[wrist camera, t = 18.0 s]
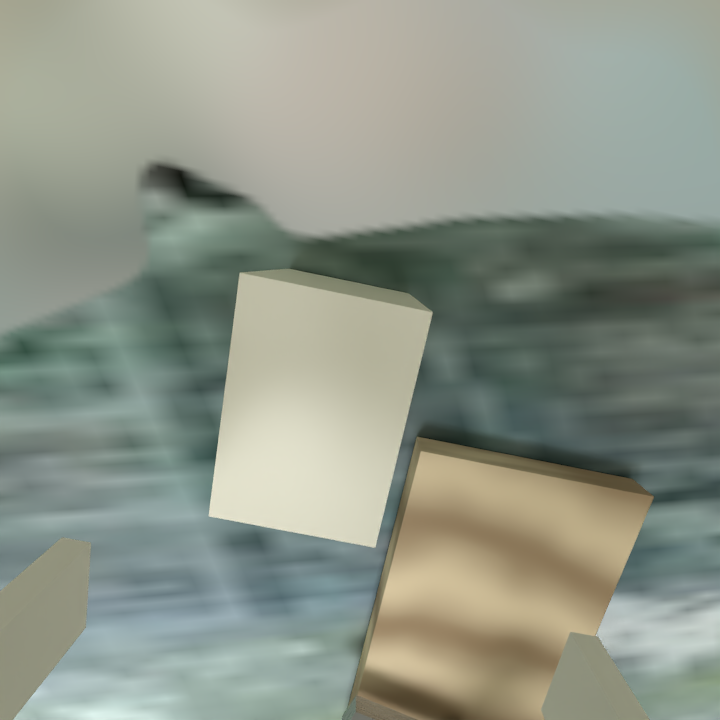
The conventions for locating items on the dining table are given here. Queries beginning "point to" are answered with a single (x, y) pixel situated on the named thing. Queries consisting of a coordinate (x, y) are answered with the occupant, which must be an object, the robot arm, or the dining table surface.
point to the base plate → (492, 580)
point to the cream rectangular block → (315, 403)
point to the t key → (371, 711)
